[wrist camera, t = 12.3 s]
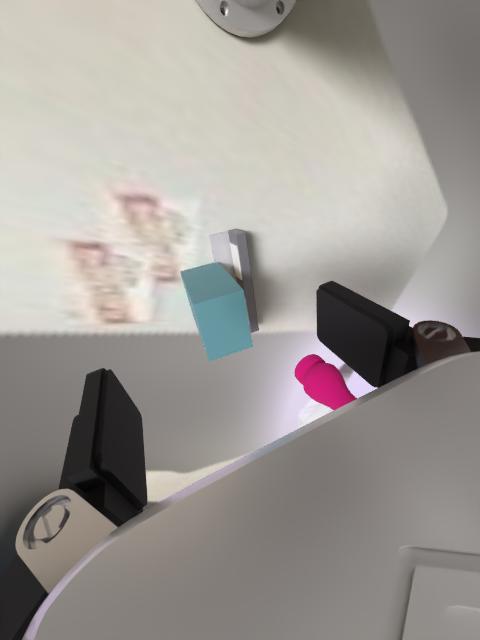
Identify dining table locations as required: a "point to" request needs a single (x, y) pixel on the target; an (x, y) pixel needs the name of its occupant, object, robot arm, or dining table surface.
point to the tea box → (218, 310)
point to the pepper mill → (323, 382)
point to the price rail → (236, 266)
